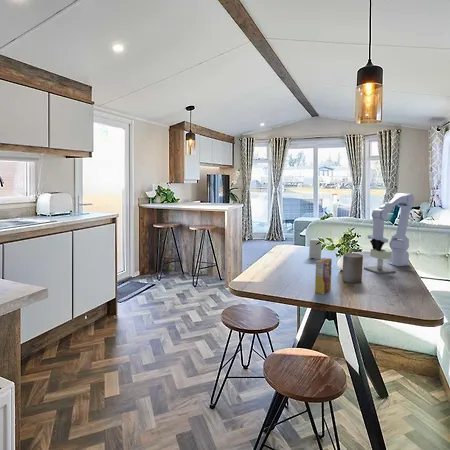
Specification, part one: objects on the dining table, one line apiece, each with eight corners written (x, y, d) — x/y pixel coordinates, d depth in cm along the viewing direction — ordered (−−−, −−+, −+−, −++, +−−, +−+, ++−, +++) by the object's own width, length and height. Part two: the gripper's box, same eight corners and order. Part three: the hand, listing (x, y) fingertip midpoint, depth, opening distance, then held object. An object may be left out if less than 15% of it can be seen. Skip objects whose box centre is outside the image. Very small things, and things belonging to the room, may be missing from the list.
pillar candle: (361, 279, 192) (362, 251, 190) (361, 284, 183) (363, 254, 181) (342, 277, 195) (343, 250, 193) (341, 282, 186) (342, 253, 184)
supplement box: (320, 259, 236) (321, 240, 234) (309, 258, 238) (310, 239, 236) (320, 257, 243) (321, 238, 242) (308, 256, 245) (309, 238, 243)
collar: (381, 255, 214) (381, 248, 213) (391, 258, 206) (392, 251, 206) (370, 255, 211) (370, 249, 211) (380, 259, 204) (380, 252, 203)
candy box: (322, 288, 175) (324, 257, 173) (331, 290, 173) (332, 258, 171) (314, 292, 169) (315, 260, 167) (322, 294, 166) (324, 262, 164)
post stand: (380, 267, 217) (381, 256, 216) (395, 272, 206) (396, 261, 205) (363, 268, 213) (364, 258, 213) (378, 274, 202) (379, 262, 201)
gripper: (363, 228, 215) (362, 250, 217) (381, 231, 202) (380, 255, 203) (373, 227, 218) (372, 250, 219) (391, 231, 204) (390, 255, 206)
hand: (376, 252), depth 212 cm, fingers closed on collar
